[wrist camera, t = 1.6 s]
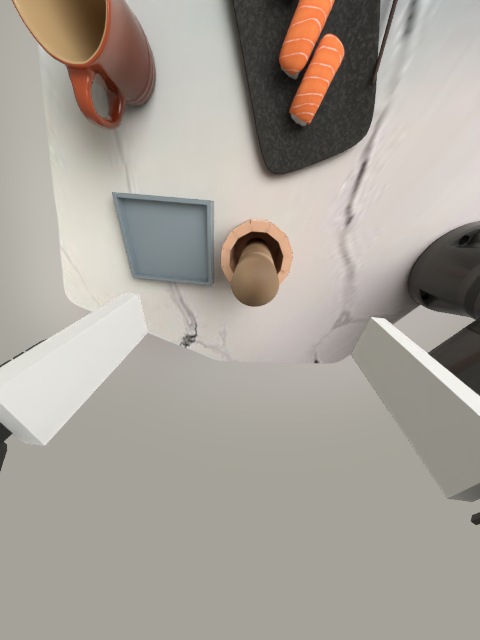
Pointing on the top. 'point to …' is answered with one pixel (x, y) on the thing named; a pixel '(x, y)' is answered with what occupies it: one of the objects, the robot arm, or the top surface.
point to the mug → (95, 51)
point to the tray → (168, 237)
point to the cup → (259, 230)
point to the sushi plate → (310, 75)
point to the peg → (255, 275)
